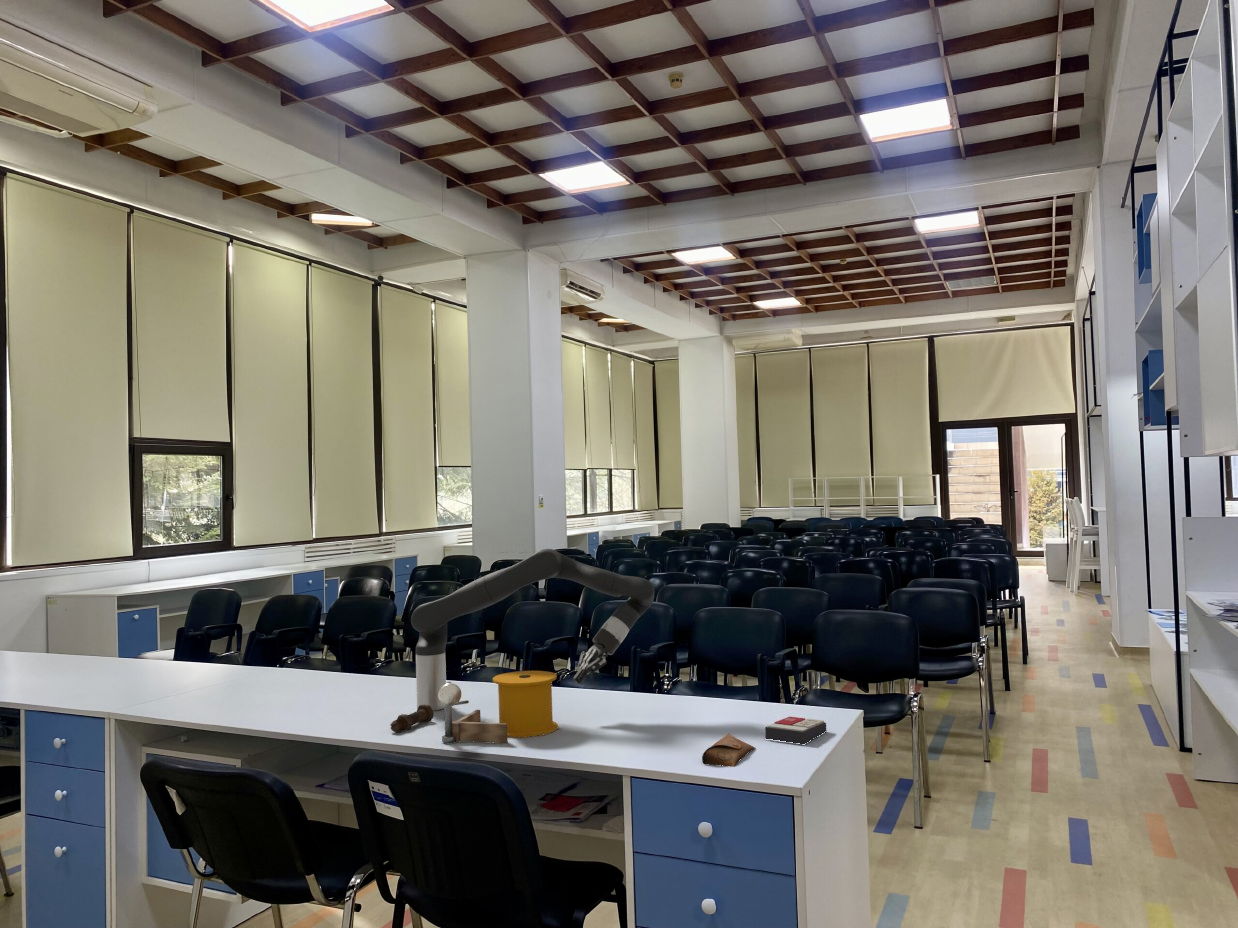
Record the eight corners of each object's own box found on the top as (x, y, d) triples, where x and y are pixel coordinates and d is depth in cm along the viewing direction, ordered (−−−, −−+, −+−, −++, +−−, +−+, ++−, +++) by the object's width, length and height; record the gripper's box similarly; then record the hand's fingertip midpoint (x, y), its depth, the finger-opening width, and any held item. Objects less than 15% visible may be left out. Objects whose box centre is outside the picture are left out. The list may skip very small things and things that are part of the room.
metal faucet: (441, 745, 238) (439, 685, 238) (436, 742, 241) (434, 682, 242) (472, 740, 242) (471, 680, 243) (467, 737, 246) (465, 678, 247)
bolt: (392, 739, 253) (425, 725, 267) (404, 732, 251) (436, 718, 265) (383, 721, 254) (416, 707, 268) (395, 713, 253) (428, 700, 266)
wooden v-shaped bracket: (464, 750, 232) (463, 731, 232) (437, 733, 251) (437, 715, 251) (508, 742, 238) (508, 723, 239) (479, 726, 257) (479, 709, 257)
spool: (502, 721, 263) (501, 670, 263) (563, 721, 261) (561, 669, 261) (486, 737, 245) (485, 682, 245) (551, 737, 243) (549, 681, 243)
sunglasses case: (736, 767, 210) (721, 741, 212) (712, 780, 212) (697, 754, 214) (757, 747, 226) (743, 723, 228) (734, 759, 229) (721, 735, 230)
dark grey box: (826, 719, 239) (803, 728, 227) (827, 735, 239) (804, 746, 227) (788, 714, 246) (764, 723, 233) (789, 730, 245) (764, 740, 233)
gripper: (592, 624, 273) (557, 670, 266) (614, 629, 261) (577, 677, 254) (608, 640, 275) (573, 685, 268) (630, 646, 264) (594, 693, 257)
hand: (575, 681), depth 261 cm, fingers closed
